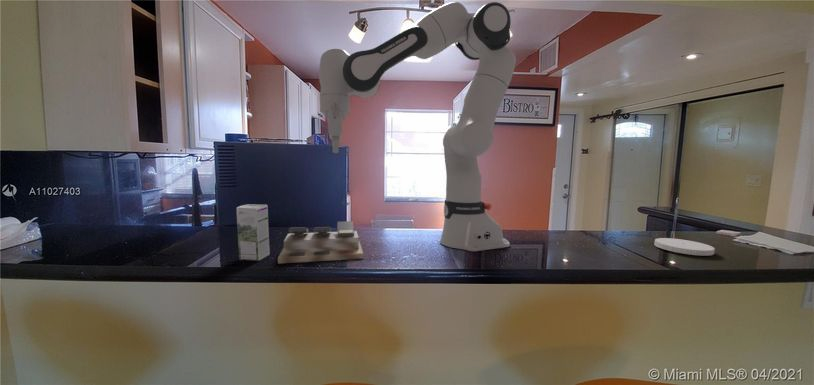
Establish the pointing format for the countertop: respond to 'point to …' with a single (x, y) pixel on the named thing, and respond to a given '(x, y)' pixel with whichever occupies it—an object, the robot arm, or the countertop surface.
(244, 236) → the syrup box
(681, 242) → the plastic lid
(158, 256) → the countertop surface
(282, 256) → the switch unit
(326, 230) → the switch middle
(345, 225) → the switch
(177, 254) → the countertop surface
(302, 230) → the switch
